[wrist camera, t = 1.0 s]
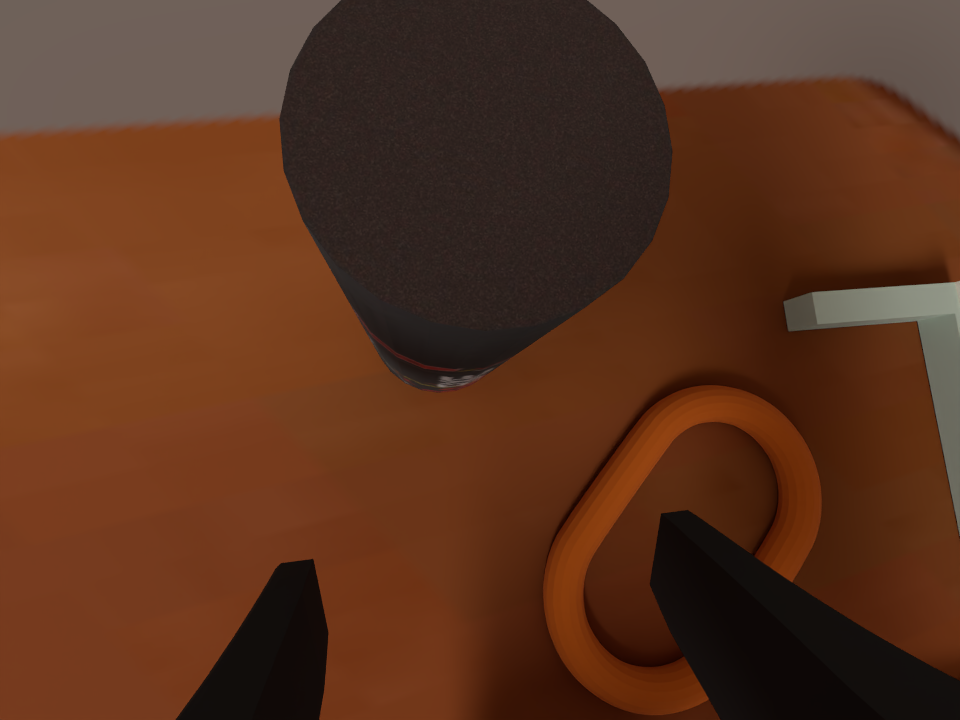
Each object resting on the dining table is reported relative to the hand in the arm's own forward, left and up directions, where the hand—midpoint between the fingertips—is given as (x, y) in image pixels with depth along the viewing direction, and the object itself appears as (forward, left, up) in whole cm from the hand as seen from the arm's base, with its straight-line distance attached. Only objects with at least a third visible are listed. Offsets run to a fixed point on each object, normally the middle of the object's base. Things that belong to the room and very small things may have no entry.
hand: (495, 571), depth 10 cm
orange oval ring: (-3, -10, -12) cm, 16 cm away
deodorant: (+7, 0, -12) cm, 14 cm away
